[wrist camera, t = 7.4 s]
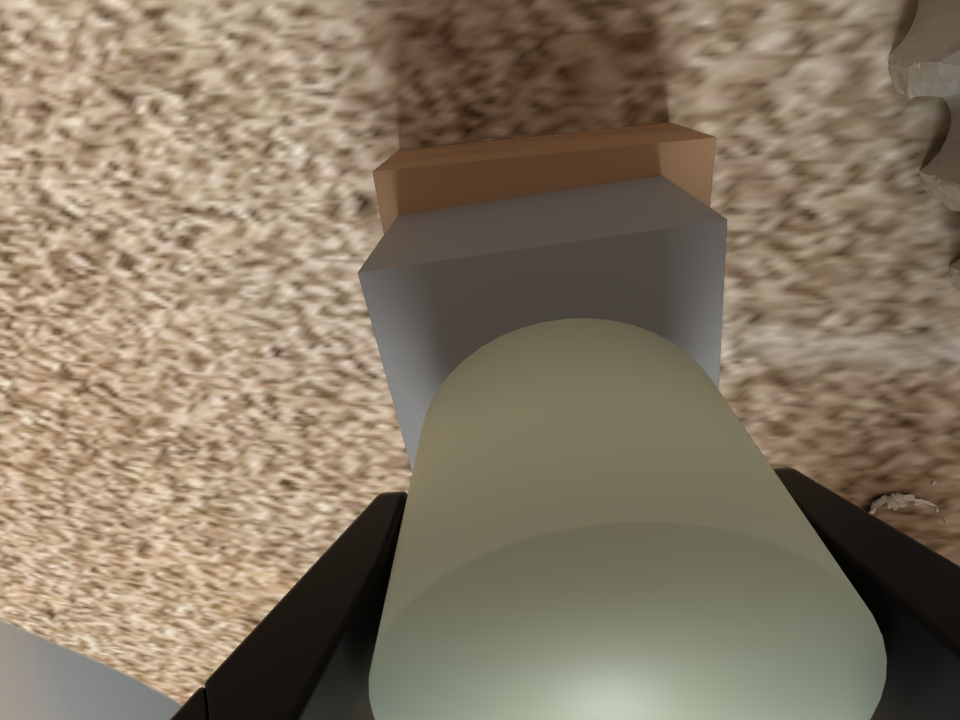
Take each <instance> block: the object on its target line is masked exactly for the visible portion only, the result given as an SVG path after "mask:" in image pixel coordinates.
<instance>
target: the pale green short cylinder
mask: <svg viewBox="0 0 960 720" xmlns="http://www.w3.org/2000/svg"><path fill="white" fill-rule="evenodd" d="M886 666H887V656H886V651H885V646H884V641H883V636H882V634H881V632H880V630H879V627H878V625H877V623H876V621H875V619H874V617H873V615H872V613H871V612H870V610H869V609H868V607H867V606H866V604H865V603H864V601H863V600H862V599H861V597H860V596H859V594H858V593H857V591H856V590H855V588H854V587H853V585H852V584H851V582H850V581H849V580H848V578H847V577H846V575H845V574H844V572H843V571H842V569H841V568H840V566H839V565H838V564H837V562H836V561H835V559H834V558H833V556H832V555H831V553H830V552H829V550H828V549H827V547H826V546H825V545H824V543H823V542H822V540H821V539H820V537H819V536H818V534H817V533H816V531H815V530H814V529H813V527H812V526H811V524H810V523H809V521H808V520H807V518H806V517H805V515H804V514H803V512H802V511H801V510H800V508H799V507H798V505H797V504H796V502H795V501H794V499H793V498H792V496H791V495H790V493H789V492H788V491H787V489H786V488H785V486H784V485H783V483H782V482H781V480H780V479H779V477H778V476H777V475H776V473H775V472H774V470H773V469H772V467H771V466H770V464H769V463H768V461H767V460H766V458H765V457H764V456H763V454H762V453H761V451H760V450H759V448H758V447H757V445H756V444H755V442H754V441H753V439H752V438H751V437H750V435H749V434H748V432H747V431H746V429H745V428H744V426H743V425H742V423H741V422H740V421H739V419H738V418H737V416H736V415H735V413H734V412H733V410H732V409H731V407H730V406H729V404H728V403H727V402H726V400H725V399H724V397H723V396H722V394H721V393H720V391H719V390H718V388H717V387H716V386H715V384H714V383H713V381H712V380H711V378H710V377H709V376H708V374H707V373H706V372H705V370H704V369H703V368H702V367H701V366H700V365H699V364H698V363H697V362H696V361H695V360H694V359H693V358H692V357H691V356H690V355H689V354H688V353H687V352H685V351H684V350H682V349H681V348H680V347H678V346H677V345H676V344H674V343H673V342H671V341H669V340H667V339H665V338H663V337H661V336H660V335H658V334H656V333H654V332H651V331H648V330H646V329H643V328H640V327H637V326H634V325H631V324H626V323H621V322H617V321H612V320H603V319H592V318H577V319H561V320H554V321H547V322H542V323H538V324H534V325H531V326H527V327H523V328H520V329H518V330H515V331H513V332H510V333H508V334H505V335H503V336H500V337H499V338H497V339H495V340H493V341H491V342H490V343H488V344H486V345H484V346H482V347H481V348H479V349H478V350H477V351H475V352H474V353H473V354H471V355H470V356H469V357H467V358H466V359H465V360H464V361H463V362H461V363H460V364H459V365H458V366H457V367H456V368H455V369H454V370H453V371H452V372H451V373H450V374H449V376H448V377H447V378H446V380H445V381H444V382H443V383H442V385H441V386H440V387H439V389H438V390H437V392H436V394H435V396H434V397H433V399H432V401H431V403H430V405H429V407H428V410H427V413H426V415H425V418H424V421H423V426H422V430H421V435H420V440H419V444H418V449H417V454H416V458H415V463H414V468H413V472H412V477H411V482H410V486H409V491H408V496H407V500H406V505H405V510H404V514H403V519H402V524H401V528H400V533H399V538H398V542H397V547H396V552H395V556H394V561H393V566H392V570H391V575H390V580H389V584H388V589H387V594H386V598H385V603H384V608H383V612H382V617H381V622H380V626H379V631H378V636H377V640H376V645H375V650H374V654H373V659H372V664H371V669H370V674H369V699H370V704H371V708H372V712H373V716H374V719H375V720H870V719H871V717H872V715H873V713H874V711H875V709H876V707H877V705H878V703H879V701H880V699H881V695H882V692H883V688H884V684H885V681H886Z"/></svg>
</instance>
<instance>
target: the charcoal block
mask: <svg viewBox="0 0 960 720" xmlns="http://www.w3.org/2000/svg"><path fill="white" fill-rule="evenodd" d="M726 233H727V219H726V218H724V217H723V216H721V215H720V214H718V213H717V212H715V211H714V210H712V209H711V208H709V207H708V206H707V205H705V204H704V203H702V202H701V201H699V200H698V199H696V198H695V197H693V196H692V195H690V194H689V193H687V192H686V191H685V190H683V189H682V188H680V187H679V186H677V185H676V184H674V183H673V182H671V181H670V180H668V179H667V178H665V177H664V176H663V175H659V176H652V177H646V178H639V179H633V180H626V181H620V182H613V183H607V184H600V185H594V186H587V187H581V188H574V189H568V190H561V191H555V192H548V193H542V194H535V195H529V196H522V197H516V198H509V199H503V200H496V201H490V202H483V203H477V204H470V205H464V206H457V207H451V208H444V209H438V210H431V211H425V212H418V213H412V214H405V215H399V216H397V218H396V219H395V220H394V222H393V223H392V225H391V226H390V227H389V229H388V230H387V232H386V233H385V235H384V236H383V237H382V239H381V240H380V242H379V243H378V245H377V246H376V247H375V249H374V250H373V252H372V253H371V254H370V256H369V257H368V259H367V260H366V262H365V263H364V264H363V266H362V267H361V269H360V270H359V272H358V275H359V279H360V283H361V286H362V290H363V293H364V297H365V301H366V304H367V308H368V312H369V315H370V319H371V323H372V326H373V330H374V334H375V337H376V341H377V345H378V348H379V352H380V355H381V359H382V363H383V366H384V370H385V374H386V377H387V381H388V385H389V388H390V392H391V396H392V399H393V403H394V407H395V410H396V414H397V417H398V421H399V425H400V428H401V432H402V436H403V439H404V443H405V447H406V450H407V454H408V458H409V461H410V465H411V469H412V472H413V468H414V463H415V458H416V454H417V449H418V444H419V440H420V435H421V430H422V426H423V421H424V418H425V415H426V413H427V410H428V407H429V405H430V403H431V401H432V399H433V397H434V396H435V394H436V392H437V390H438V389H439V387H440V386H441V385H442V383H443V382H444V381H445V380H446V378H447V377H448V376H449V374H450V373H451V372H452V371H453V370H454V369H455V368H456V367H457V366H458V365H459V364H460V363H461V362H463V361H464V360H465V359H466V358H467V357H469V356H470V355H471V354H473V353H474V352H475V351H477V350H478V349H479V348H481V347H482V346H484V345H486V344H488V343H490V342H491V341H493V340H495V339H497V338H499V337H500V336H503V335H505V334H508V333H510V332H513V331H515V330H518V329H520V328H523V327H527V326H531V325H534V324H538V323H542V322H547V321H554V320H561V319H577V318H592V319H603V320H612V321H617V322H621V323H626V324H631V325H634V326H637V327H640V328H643V329H646V330H648V331H651V332H654V333H656V334H658V335H660V336H661V337H663V338H665V339H667V340H669V341H671V342H673V343H674V344H676V345H677V346H678V347H680V348H681V349H682V350H684V351H685V352H687V353H688V354H689V355H690V356H691V357H692V358H693V359H694V360H695V361H696V362H697V363H698V364H699V365H700V366H701V367H702V368H703V369H704V370H705V372H706V373H707V374H708V376H709V377H710V378H711V380H712V381H713V383H714V384H715V386H716V387H717V388H718V389H719V369H720V350H721V330H722V311H723V291H724V272H725V252H726Z"/></svg>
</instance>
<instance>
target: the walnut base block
mask: <svg viewBox="0 0 960 720" xmlns="http://www.w3.org/2000/svg"><path fill="white" fill-rule="evenodd" d="M715 145H716V137H714V136H711V135H707V134H704V133H701V132H698V131H695V130H692V129H688V128H685V127H682V126H679V125H676V124H673V123H670V122H668V123H658V124H648V125H639V126H629V127H619V128H609V129H600V130H590V131H580V132H570V133H561V134H551V135H541V136H531V137H521V138H512V139H502V140H492V141H482V142H473V143H463V144H453V145H443V146H434V147H424V148H414V149H404V150H399V151H397V152H396V153H395V154H394V155H392V156H391V157H390V158H389V159H388V160H386V161H385V162H384V163H383V164H381V165H380V166H379V167H378V168H376V169H375V170H374V171H373V176H374V182H375V187H376V193H377V198H378V204H379V209H380V215H381V220H382V226H383V231H384V235H385V233H386V232H387V230H388V229H389V227H390V226H391V225H392V223H393V222H394V220H395V219H396V218H397V216H399V215H405V214H412V213H418V212H425V211H431V210H438V209H444V208H451V207H457V206H464V205H470V204H477V203H483V202H490V201H496V200H503V199H509V198H516V197H522V196H529V195H535V194H542V193H548V192H555V191H561V190H568V189H574V188H581V187H587V186H594V185H600V184H607V183H613V182H620V181H626V180H633V179H639V178H646V177H652V176H659V175H663V176H664V177H665V178H667V179H668V180H670V181H671V182H673V183H674V184H676V185H677V186H679V187H680V188H682V189H683V190H685V191H686V192H687V193H689V194H690V195H692V196H693V197H695V198H696V199H698V200H699V201H701V202H702V203H704V204H705V205H707V206H708V207H709V208H710V198H711V187H712V177H713V166H714V156H715Z"/></svg>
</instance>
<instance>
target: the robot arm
mask: <svg viewBox="0 0 960 720" xmlns="http://www.w3.org/2000/svg"><path fill="white" fill-rule="evenodd" d="M772 469H773V470H774V472H775V473H776V475H777V476H778V477H779V479H780V480H781V482H782V483H783V485H784V486H785V488H786V489H787V491H788V492H789V493H790V495H791V496H792V498H793V499H794V501H795V502H796V504H797V505H798V507H799V508H800V510H801V511H802V512H803V514H804V515H805V517H806V518H807V520H808V521H809V523H810V524H811V526H812V527H813V529H814V530H815V531H816V533H817V534H818V536H819V537H820V539H821V540H822V542H823V543H824V545H825V546H826V547H827V549H828V550H829V552H830V553H831V555H832V556H833V558H834V559H835V561H836V562H837V564H838V565H839V566H840V568H841V569H842V571H843V572H844V574H845V575H846V577H847V578H848V580H849V581H850V582H851V584H852V585H853V587H854V588H855V590H856V591H857V593H858V594H859V596H860V597H861V599H862V600H863V601H864V603H865V604H866V606H867V607H868V609H869V610H870V612H871V613H872V615H873V617H874V619H875V621H876V623H877V625H878V627H879V630H880V632H881V634H882V636H883V641H884V646H885V651H886V656H887V666H886V681H885V684H884V688H883V692H882V695H881V699H880V701H879V703H878V705H877V707H876V709H875V711H874V713H873V715H872V717H871V719H870V720H960V566H958V565H956V564H955V563H953V562H951V561H950V560H948V559H946V558H944V557H943V556H941V555H939V554H938V553H936V552H934V551H933V550H931V549H929V548H927V547H926V546H924V545H922V544H921V543H919V542H917V541H916V540H914V539H912V538H911V537H909V536H907V535H905V534H904V533H902V532H900V531H899V530H897V529H895V528H894V527H892V526H890V525H888V524H887V523H885V522H883V521H882V520H880V519H878V518H877V517H875V516H873V515H871V514H870V513H868V512H866V511H865V510H863V509H861V508H860V507H858V506H856V505H855V504H853V503H851V502H849V501H848V500H846V499H844V498H843V497H841V496H839V495H838V494H836V493H834V492H832V491H831V490H829V489H827V488H826V487H824V486H822V485H821V484H819V483H817V482H815V481H814V480H812V479H810V478H809V477H807V476H805V475H804V474H802V473H800V472H799V471H797V470H795V469H792V468H772ZM407 496H408V494H407V493H406V492H403V491H402V492H386V493H381V494H380V495H378V496H377V497H376V498H375V499H374V500H373V501H372V502H371V503H370V505H369V506H368V507H367V508H366V509H365V510H364V511H363V512H362V513H361V514H360V515H359V516H358V517H357V519H356V520H355V521H354V522H353V523H352V524H351V525H350V526H349V527H348V528H347V529H346V530H345V532H344V533H343V534H342V535H341V536H340V537H339V538H338V539H337V540H336V541H335V542H334V543H333V544H332V546H331V547H330V548H329V549H328V550H327V551H326V552H325V553H324V554H323V555H322V556H321V557H320V558H319V560H318V561H317V562H316V563H315V564H314V565H313V566H312V567H311V568H310V569H309V570H308V571H307V573H306V574H305V575H304V576H303V577H302V578H301V579H300V580H299V581H298V582H297V583H296V584H295V585H294V587H293V588H292V589H291V590H290V591H289V592H288V593H287V594H286V595H285V596H284V597H283V598H282V600H281V601H280V602H279V603H278V604H277V605H276V606H275V607H274V608H273V609H272V610H271V611H270V612H269V614H268V615H267V616H266V617H265V618H264V619H263V620H262V621H261V622H260V623H259V624H258V625H257V626H256V628H255V629H254V630H253V631H252V632H251V633H250V634H249V635H248V636H247V637H246V638H245V639H244V641H243V642H242V643H241V644H240V645H239V646H238V647H237V648H236V649H235V650H234V651H233V652H232V653H231V655H230V656H229V657H228V658H227V659H226V660H225V661H224V662H223V663H222V664H221V665H220V666H219V667H218V669H217V670H216V671H215V672H214V673H213V674H212V675H211V676H210V677H209V678H208V679H207V680H206V682H205V688H204V687H201V688H199V689H198V690H197V691H196V692H195V693H194V694H193V695H192V696H191V697H190V698H189V700H188V701H187V702H186V703H185V704H184V705H183V706H182V707H181V708H180V709H179V711H177V712H176V714H175V715H174V716H173V717H172V718H171V719H170V720H375V719H374V716H373V712H372V708H371V704H370V699H369V674H370V669H371V664H372V659H373V654H374V650H375V645H376V640H377V636H378V631H379V626H380V622H381V617H382V612H383V608H384V603H385V598H386V594H387V589H388V584H389V580H390V575H391V570H392V566H393V561H394V556H395V552H396V547H397V542H398V538H399V533H400V528H401V524H402V519H403V514H404V510H405V505H406V500H407Z"/></svg>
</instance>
